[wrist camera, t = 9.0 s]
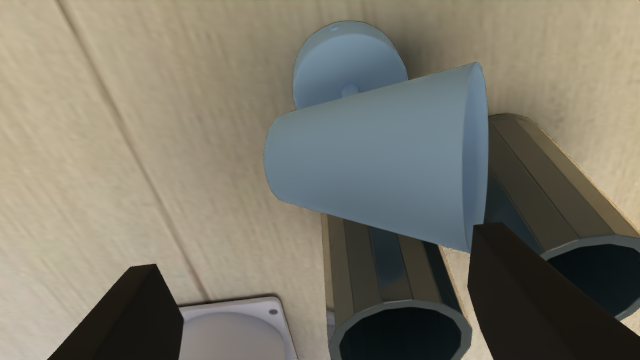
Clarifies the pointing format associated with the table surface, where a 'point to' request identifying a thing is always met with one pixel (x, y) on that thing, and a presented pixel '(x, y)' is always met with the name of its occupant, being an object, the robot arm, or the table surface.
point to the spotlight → (382, 139)
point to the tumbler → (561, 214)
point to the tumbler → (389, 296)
